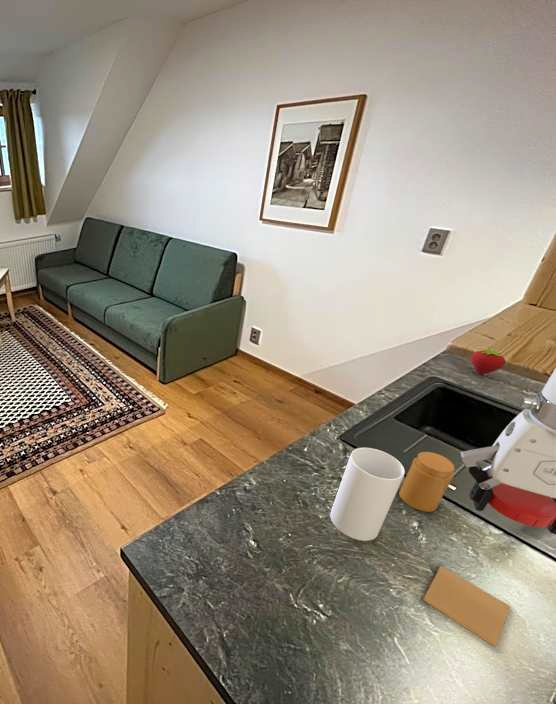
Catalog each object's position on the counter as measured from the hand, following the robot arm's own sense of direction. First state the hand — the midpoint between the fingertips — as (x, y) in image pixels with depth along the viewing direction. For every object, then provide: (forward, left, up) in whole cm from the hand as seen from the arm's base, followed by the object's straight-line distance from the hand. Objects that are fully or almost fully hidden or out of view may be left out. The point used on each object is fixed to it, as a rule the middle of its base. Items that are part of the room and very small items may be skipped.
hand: (512, 514), depth 58 cm
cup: (+17, -2, -20) cm, 26 cm away
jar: (+11, -18, -19) cm, 28 cm away
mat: (-1, +1, -19) cm, 19 cm away
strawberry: (+15, -87, -20) cm, 90 cm away
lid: (0, 0, +3) cm, 3 cm away
